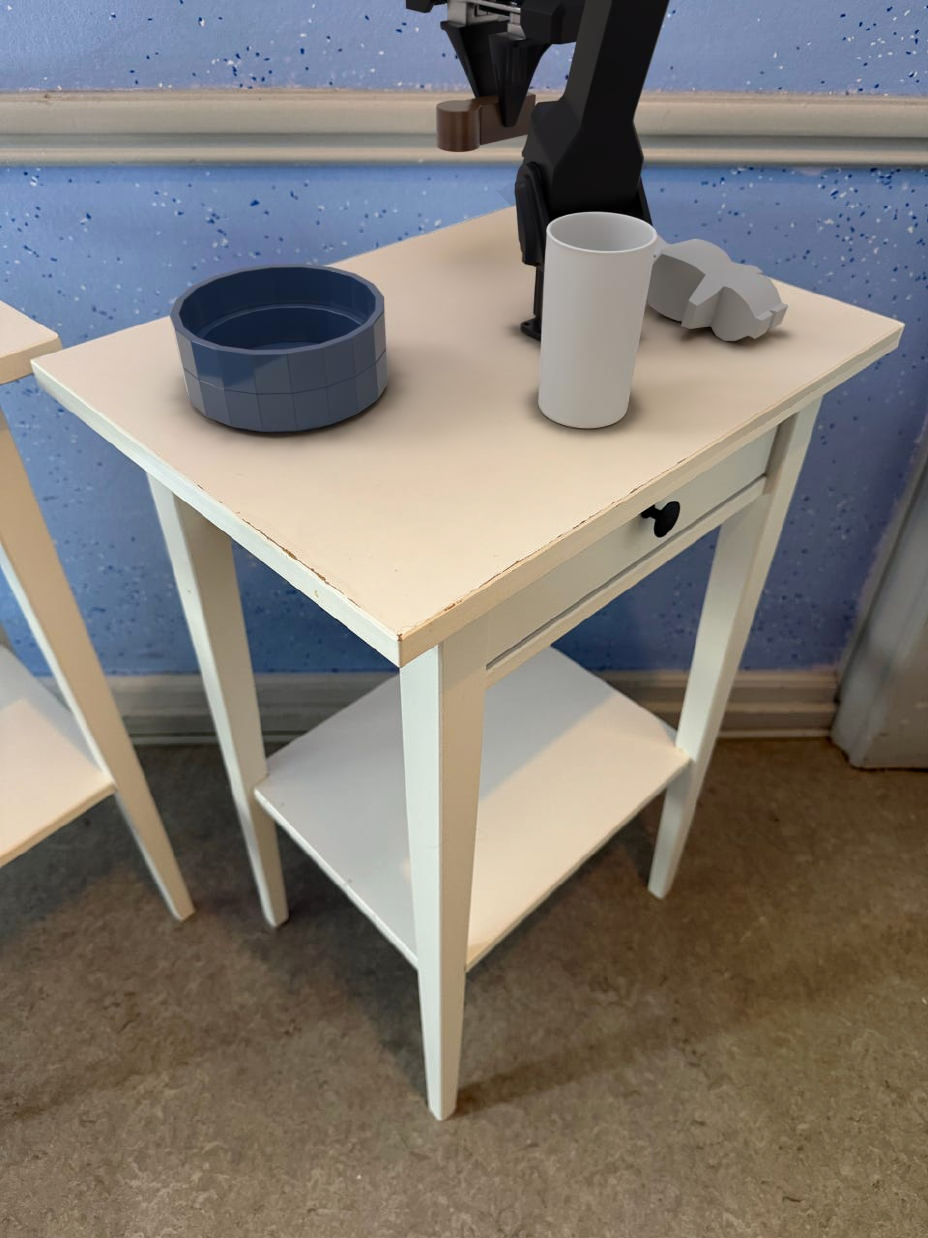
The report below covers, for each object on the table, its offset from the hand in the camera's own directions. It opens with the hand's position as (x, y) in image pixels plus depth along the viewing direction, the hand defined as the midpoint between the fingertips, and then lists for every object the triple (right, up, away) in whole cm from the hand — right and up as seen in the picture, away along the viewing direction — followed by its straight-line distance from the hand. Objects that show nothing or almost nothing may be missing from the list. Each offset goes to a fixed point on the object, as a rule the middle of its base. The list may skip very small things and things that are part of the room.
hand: (499, 123), depth 77 cm
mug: (+6, -26, -12) cm, 30 cm away
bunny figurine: (+15, -17, -2) cm, 23 cm away
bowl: (-16, -25, -11) cm, 32 cm away
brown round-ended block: (-1, -1, 0) cm, 2 cm away
